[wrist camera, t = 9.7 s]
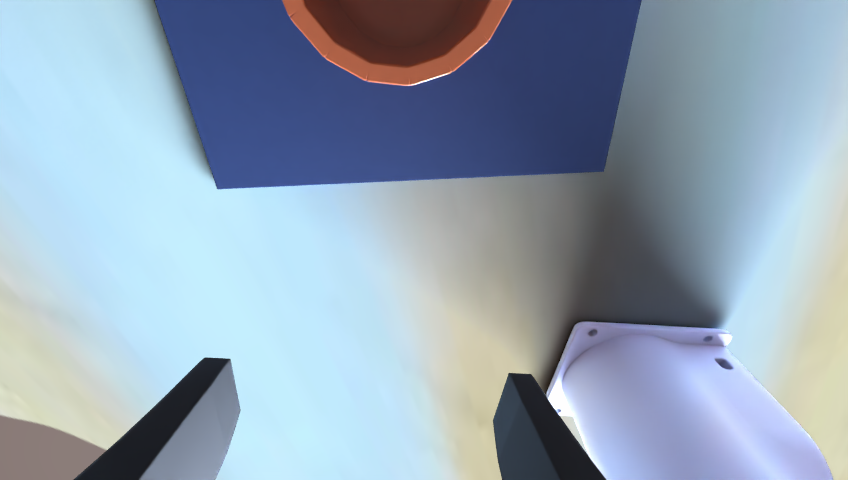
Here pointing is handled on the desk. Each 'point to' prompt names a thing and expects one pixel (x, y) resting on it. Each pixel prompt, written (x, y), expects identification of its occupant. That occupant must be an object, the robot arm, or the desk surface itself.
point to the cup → (397, 35)
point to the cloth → (400, 98)
